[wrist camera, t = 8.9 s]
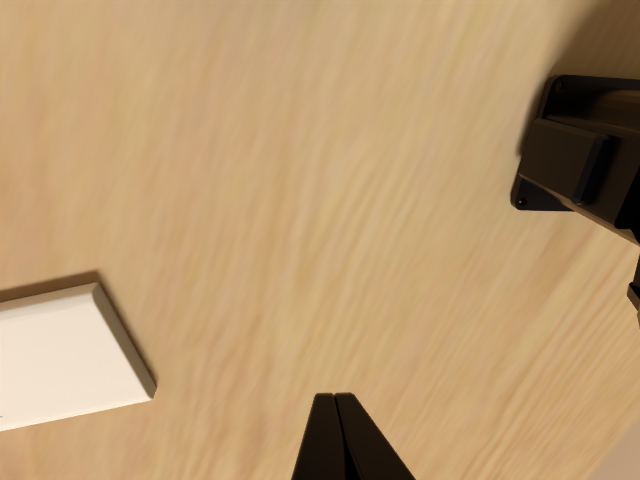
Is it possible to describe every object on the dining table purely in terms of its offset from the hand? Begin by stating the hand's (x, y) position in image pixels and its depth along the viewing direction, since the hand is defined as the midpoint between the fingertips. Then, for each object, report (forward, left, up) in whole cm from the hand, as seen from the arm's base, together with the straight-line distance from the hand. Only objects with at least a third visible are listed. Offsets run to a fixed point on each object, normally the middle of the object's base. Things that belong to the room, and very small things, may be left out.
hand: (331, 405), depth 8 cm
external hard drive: (+16, +10, -13) cm, 22 cm away
